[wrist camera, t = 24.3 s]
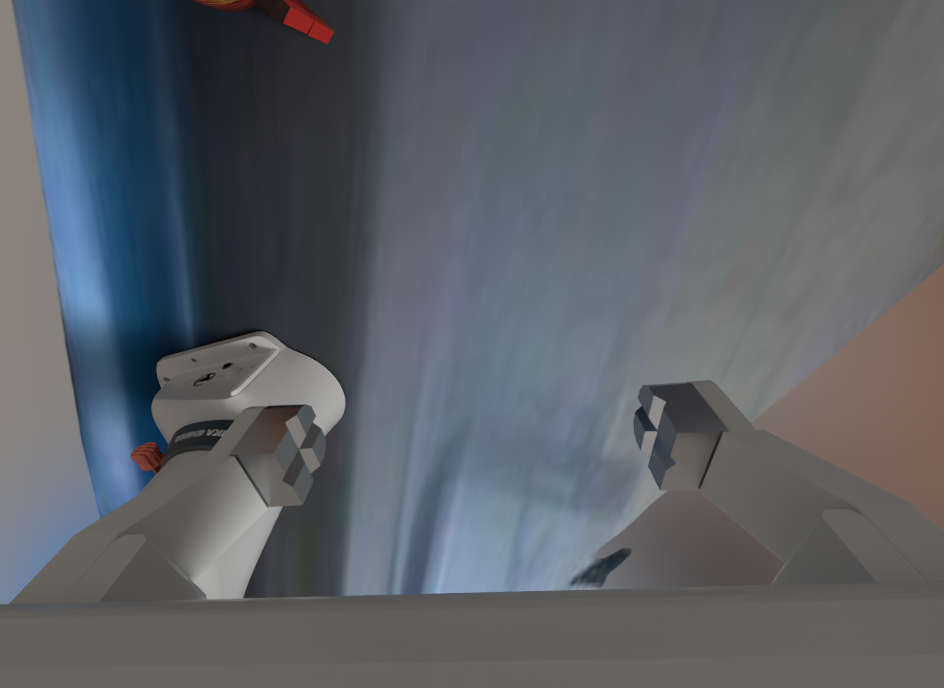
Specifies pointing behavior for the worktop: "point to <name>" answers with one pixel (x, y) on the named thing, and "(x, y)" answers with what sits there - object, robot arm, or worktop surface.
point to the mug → (280, 14)
